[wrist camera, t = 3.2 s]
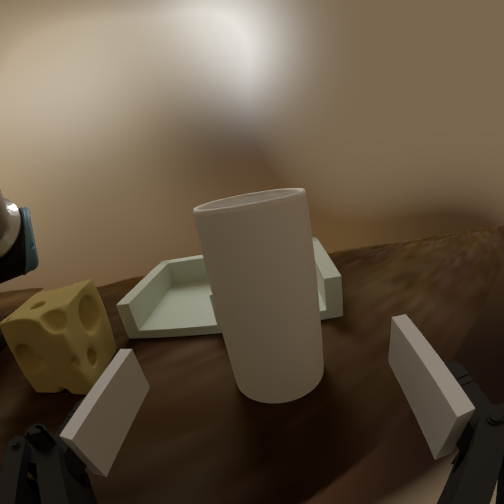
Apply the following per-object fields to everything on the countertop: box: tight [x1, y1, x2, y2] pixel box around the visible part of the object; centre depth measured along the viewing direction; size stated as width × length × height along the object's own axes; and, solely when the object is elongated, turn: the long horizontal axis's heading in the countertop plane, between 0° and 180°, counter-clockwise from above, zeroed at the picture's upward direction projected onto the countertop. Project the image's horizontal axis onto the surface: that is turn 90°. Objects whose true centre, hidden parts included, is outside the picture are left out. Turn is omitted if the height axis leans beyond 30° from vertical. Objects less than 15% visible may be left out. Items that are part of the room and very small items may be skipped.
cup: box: [193, 188, 324, 403], centre depth 22 cm, size 8×8×16 cm
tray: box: [116, 237, 343, 339], centre depth 41 cm, size 18×28×6 cm, turn 86°
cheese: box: [0, 280, 117, 395], centre depth 27 cm, size 10×11×10 cm
